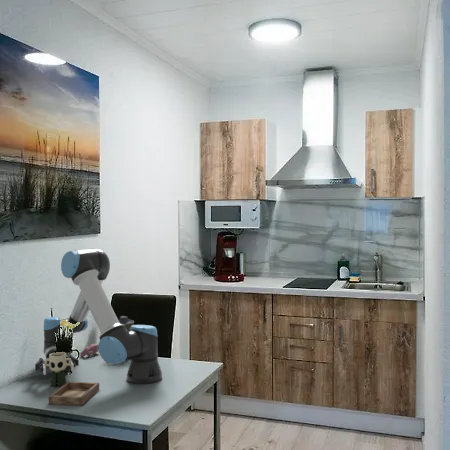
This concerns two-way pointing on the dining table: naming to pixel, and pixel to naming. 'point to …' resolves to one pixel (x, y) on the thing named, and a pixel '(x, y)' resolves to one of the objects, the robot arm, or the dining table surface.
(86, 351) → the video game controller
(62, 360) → the character mug
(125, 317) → the canister
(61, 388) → the wooden tray
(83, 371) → the dining table surface
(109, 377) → the dining table surface
